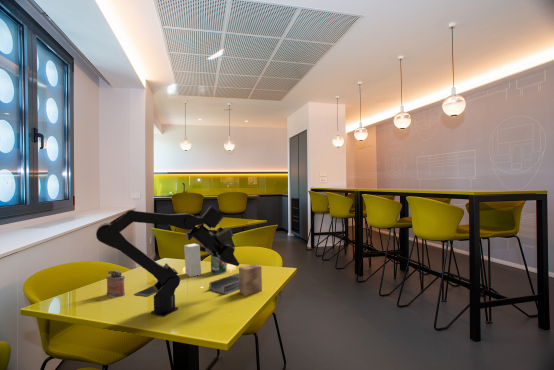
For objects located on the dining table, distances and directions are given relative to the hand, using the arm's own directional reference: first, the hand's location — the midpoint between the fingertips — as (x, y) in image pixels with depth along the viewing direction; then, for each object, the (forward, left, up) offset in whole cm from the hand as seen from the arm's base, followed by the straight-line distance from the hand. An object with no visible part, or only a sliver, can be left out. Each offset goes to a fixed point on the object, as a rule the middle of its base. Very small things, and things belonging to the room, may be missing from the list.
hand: (233, 262), depth 113 cm
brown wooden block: (+6, -4, -13) cm, 15 cm away
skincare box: (+16, +36, -13) cm, 42 cm away
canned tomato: (+24, +26, -13) cm, 38 cm away
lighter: (-18, +46, -13) cm, 51 cm away
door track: (+8, +7, -13) cm, 17 cm away
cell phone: (-8, +36, -13) cm, 39 cm away
